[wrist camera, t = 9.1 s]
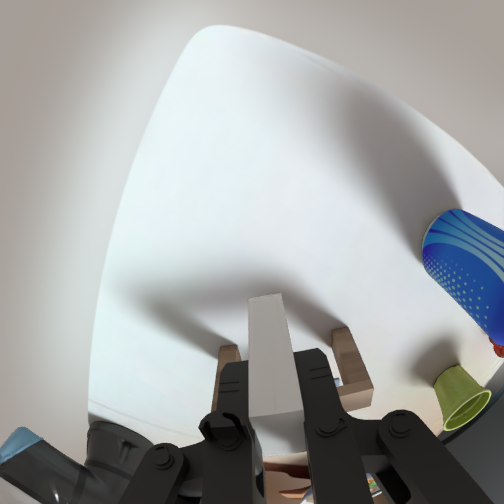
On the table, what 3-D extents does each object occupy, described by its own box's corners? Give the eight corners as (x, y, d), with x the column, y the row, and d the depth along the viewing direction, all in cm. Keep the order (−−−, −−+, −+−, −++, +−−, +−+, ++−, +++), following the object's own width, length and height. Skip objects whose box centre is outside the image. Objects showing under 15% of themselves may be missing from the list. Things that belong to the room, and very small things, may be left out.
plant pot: (417, 387, 36) (436, 425, 28) (460, 348, 33) (486, 384, 25) (435, 400, 38) (452, 434, 30) (473, 367, 35) (494, 398, 27)
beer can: (404, 238, 26) (503, 325, 12) (454, 190, 24) (565, 243, 9) (431, 287, 29) (507, 375, 14) (476, 244, 27) (562, 309, 12)
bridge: (347, 345, 32) (370, 406, 23) (226, 364, 33) (219, 428, 24) (348, 326, 31) (373, 387, 22) (220, 346, 32) (210, 412, 23)
